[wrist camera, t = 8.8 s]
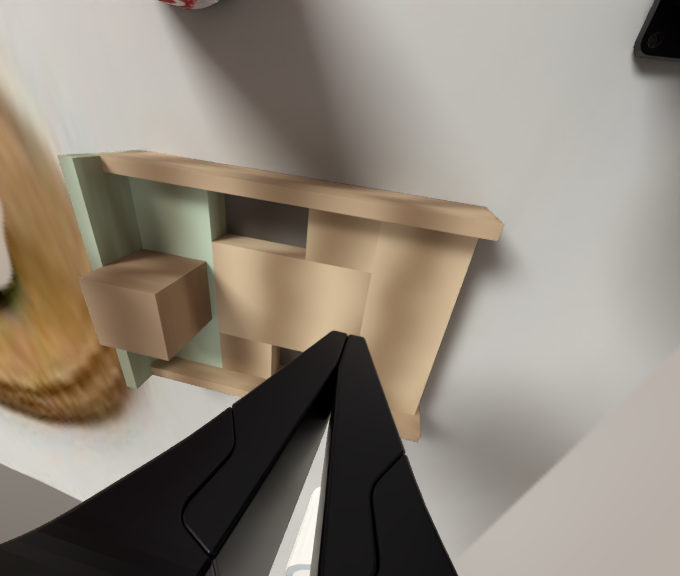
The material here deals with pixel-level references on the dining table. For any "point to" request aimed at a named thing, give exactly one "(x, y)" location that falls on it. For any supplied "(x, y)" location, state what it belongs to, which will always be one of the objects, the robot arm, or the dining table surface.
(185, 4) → the soda can
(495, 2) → the dining table surface
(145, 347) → the walnut block
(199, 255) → the tray
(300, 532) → the white cup
